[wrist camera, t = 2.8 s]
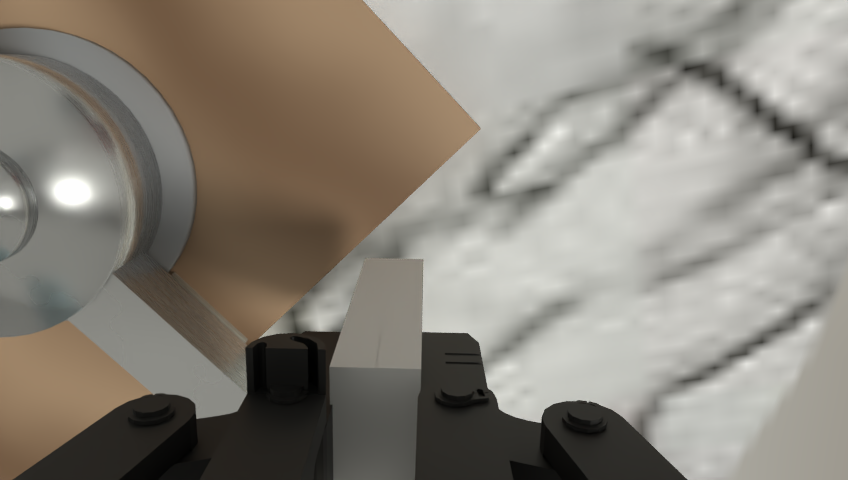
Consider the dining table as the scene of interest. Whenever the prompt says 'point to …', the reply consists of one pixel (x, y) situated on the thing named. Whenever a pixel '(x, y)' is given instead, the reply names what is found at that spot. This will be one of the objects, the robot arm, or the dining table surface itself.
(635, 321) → the dining table surface
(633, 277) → the dining table surface
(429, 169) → the post board
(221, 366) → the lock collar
